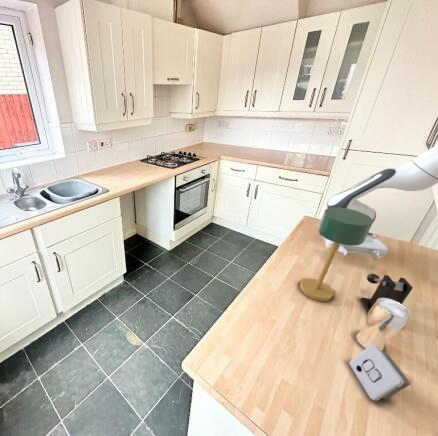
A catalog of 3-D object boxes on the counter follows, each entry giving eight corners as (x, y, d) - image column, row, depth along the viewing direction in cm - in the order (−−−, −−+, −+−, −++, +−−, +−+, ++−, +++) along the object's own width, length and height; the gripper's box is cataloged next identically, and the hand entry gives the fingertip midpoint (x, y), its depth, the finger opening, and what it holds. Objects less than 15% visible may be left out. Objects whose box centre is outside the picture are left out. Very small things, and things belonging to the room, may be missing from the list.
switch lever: (364, 281, 87) (365, 272, 87) (375, 283, 86) (376, 273, 86) (391, 290, 74) (392, 279, 74) (405, 293, 73) (406, 282, 73)
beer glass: (361, 351, 69) (385, 315, 62) (349, 330, 75) (370, 295, 68) (390, 356, 67) (418, 320, 60) (376, 334, 73) (400, 299, 66)
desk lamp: (342, 296, 87) (382, 219, 72) (321, 308, 82) (358, 229, 67) (310, 275, 96) (339, 204, 81) (289, 285, 92) (316, 211, 77)
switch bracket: (360, 299, 85) (377, 269, 79) (384, 304, 83) (404, 273, 77) (372, 320, 78) (392, 289, 71) (399, 326, 76) (422, 294, 69)
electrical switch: (347, 362, 66) (365, 342, 62) (367, 365, 66) (386, 345, 61) (371, 401, 58) (393, 381, 53) (393, 405, 58) (418, 385, 53)
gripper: (323, 228, 106) (333, 245, 94) (379, 235, 100) (398, 254, 89) (318, 240, 109) (328, 258, 97) (373, 247, 103) (390, 267, 92)
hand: (362, 256), depth 93 cm, fingers open, 8 cm apart
